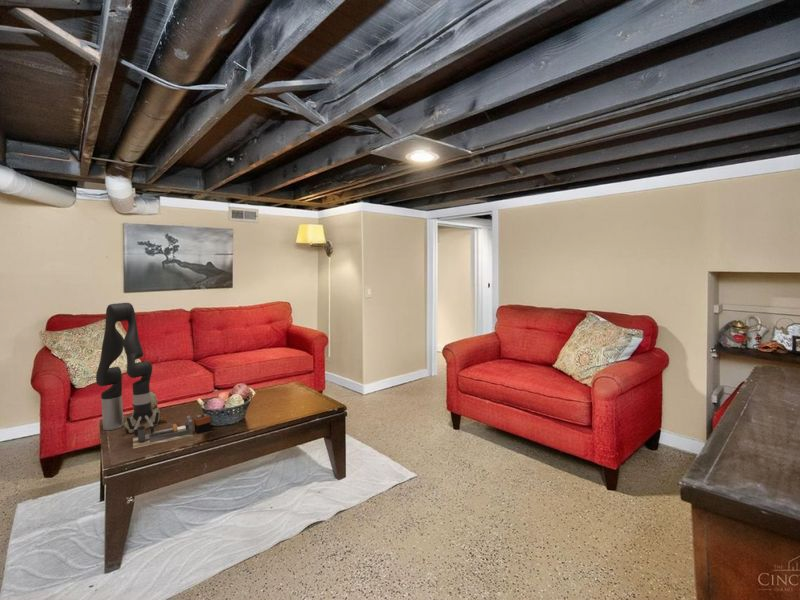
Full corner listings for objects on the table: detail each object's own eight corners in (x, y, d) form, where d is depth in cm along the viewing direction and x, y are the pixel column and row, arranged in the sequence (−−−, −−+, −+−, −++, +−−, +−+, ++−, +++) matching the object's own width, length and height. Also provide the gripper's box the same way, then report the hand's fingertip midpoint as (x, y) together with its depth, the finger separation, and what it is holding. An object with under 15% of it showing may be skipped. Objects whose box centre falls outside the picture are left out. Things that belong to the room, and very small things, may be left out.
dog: (133, 421, 230) (131, 387, 228) (170, 416, 236) (169, 383, 235) (122, 437, 208) (120, 400, 206) (163, 432, 215) (161, 396, 213)
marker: (176, 432, 211) (176, 427, 211) (185, 430, 213) (185, 425, 213) (177, 435, 208) (177, 429, 207) (186, 433, 210) (185, 428, 210)
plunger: (138, 439, 202) (137, 427, 201) (176, 431, 211) (176, 419, 211) (138, 443, 198) (137, 430, 197) (177, 434, 207) (176, 423, 207)
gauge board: (133, 440, 205) (132, 424, 204) (190, 428, 219) (189, 414, 218) (133, 450, 193) (132, 434, 192) (193, 437, 207) (192, 422, 207)
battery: (194, 434, 212) (193, 415, 211) (207, 430, 217) (206, 412, 217) (198, 436, 209) (197, 417, 209) (211, 432, 215) (210, 414, 214)
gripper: (158, 397, 207) (160, 428, 208) (124, 402, 199) (127, 435, 200) (159, 401, 200) (161, 433, 202) (124, 406, 193) (126, 440, 194)
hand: (144, 434), depth 201 cm, fingers closed on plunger, 5 cm apart
